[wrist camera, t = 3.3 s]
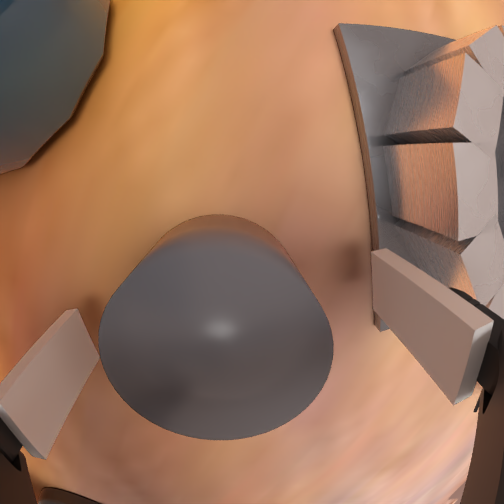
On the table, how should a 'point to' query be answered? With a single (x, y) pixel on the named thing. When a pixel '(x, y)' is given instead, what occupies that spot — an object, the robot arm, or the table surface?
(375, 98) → the square flange collar
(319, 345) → the cap
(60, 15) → the wine bottle
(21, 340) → the table surface
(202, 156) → the table surface
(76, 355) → the robot arm
